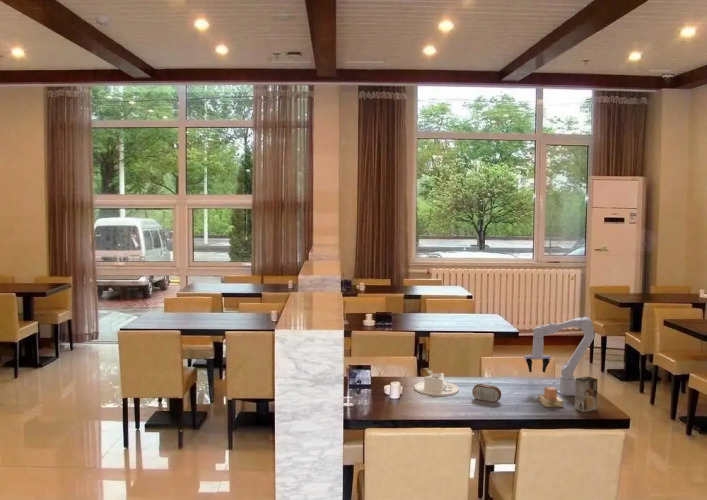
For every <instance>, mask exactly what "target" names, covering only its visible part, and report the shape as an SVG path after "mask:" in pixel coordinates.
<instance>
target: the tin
mask: <svg viewBox="0 0 707 500" xmlns="http://www.w3.org/2000/svg"><path fill="white" fill-rule="evenodd" d="M472 397H474V398H475V400H478V401H482V402H489V403H496V402H498V401H499V400H500V399H501V398H502V392H501V389H500V388H498V387H497V386H495V385H489V384H482V383H478V384H475V386H474V387H473V388H472Z"/></svg>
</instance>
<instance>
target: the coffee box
mask: <svg viewBox="0 0 707 500" xmlns="http://www.w3.org/2000/svg"><path fill="white" fill-rule="evenodd" d="M575 378H576V388H575V396H574V409H575V410H577V411H578V412H579V411H580V412H582V413H586V412H591V411H596V410H597V403H598V380H599V379H598V378H594V377H591V376H583V377H582V376H581V377H578V378H577V377H575Z"/></svg>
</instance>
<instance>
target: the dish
mask: <svg viewBox="0 0 707 500" xmlns="http://www.w3.org/2000/svg"><path fill="white" fill-rule="evenodd" d="M427 372H428V374H429V375H427V376H424V381H421V382H417V383H416V384H414V385H413V386H414V387H413V388H414V391H416V392H417V393H419V394H423V395H426V396H433V397H450V396H454V395H456V394H458V393H459V392H460V388H459V386H458V385H456V384H454V383H450V382H447V381H446V380H445V379H444V376H445V375H444V372H441V373H439V372H433V371H432V370H430V369H427Z"/></svg>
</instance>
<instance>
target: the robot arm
mask: <svg viewBox="0 0 707 500" xmlns="http://www.w3.org/2000/svg"><path fill="white" fill-rule="evenodd" d="M572 327H573V328H577V329H579V328H580V329H581V331H582V332H583V335H584V336H583V337H582V339H581V341H580V342H579V344H578V346H577V347H576V349H575V350H574V353H572V355H571V356H570V359H569V360H568V361H567V362H566V363H565V364H563V365H562V367H561V375H560V378H559V389H557V393H559V394H560V396H562V397H563V396H564V397H565V396H566V397H567V396H569V397H570V396H574V397H575V388H576V378H577V377H575V376H574V373H575V370H576V368H577V366H578V365H579V363H580V361H581V359H582V358H583V357H584V354H585V353H586V352H587V350H588V349H589V347H591V346H590V345H591V344H592V342H593V341H594V339H595V331H594V323H593V322H592V319H591V318H590V317H589V316H582V317H577V318H572V319H569V320H566V321H563V322H559V323H556V322H551V321H549V323H547V324H540V325H538V326H537V325H536V327H534V329H533V332H532V333H533V337H532V338H533V339H532V352H531V353H532V354H529V355H528V354H527V355H526V354H525V355H524V356H523V357H524V358H523V359H524V360H525V361H526V363H527V368H528V372H529V373H532V371H533V370H532V367H533V361H532V360H542V373H546V369H547V367H548V365H549V364H550V361H551V360H552V355H545V354H544V341H545V340H544V336H550V335H553V334H557V333H558V332H559V330H560V331H561V330H563V329H564V330H565V329H568V328H572Z"/></svg>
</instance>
